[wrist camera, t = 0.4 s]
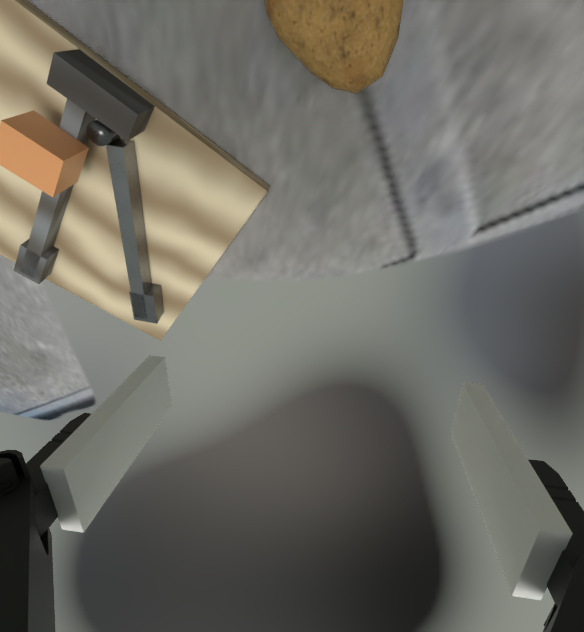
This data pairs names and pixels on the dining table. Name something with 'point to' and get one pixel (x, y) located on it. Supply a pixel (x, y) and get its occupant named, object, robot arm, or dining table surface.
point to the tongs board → (95, 178)
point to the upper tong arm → (130, 221)
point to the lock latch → (41, 152)
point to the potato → (339, 37)
